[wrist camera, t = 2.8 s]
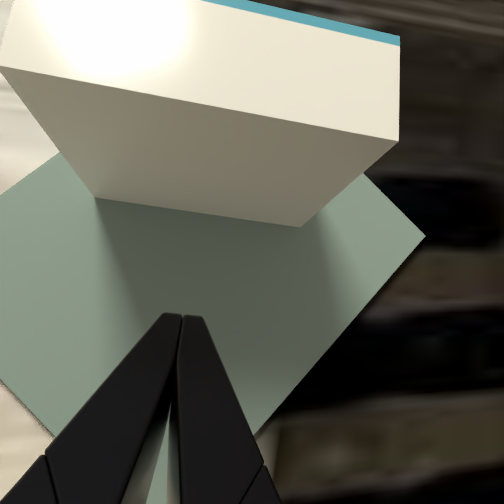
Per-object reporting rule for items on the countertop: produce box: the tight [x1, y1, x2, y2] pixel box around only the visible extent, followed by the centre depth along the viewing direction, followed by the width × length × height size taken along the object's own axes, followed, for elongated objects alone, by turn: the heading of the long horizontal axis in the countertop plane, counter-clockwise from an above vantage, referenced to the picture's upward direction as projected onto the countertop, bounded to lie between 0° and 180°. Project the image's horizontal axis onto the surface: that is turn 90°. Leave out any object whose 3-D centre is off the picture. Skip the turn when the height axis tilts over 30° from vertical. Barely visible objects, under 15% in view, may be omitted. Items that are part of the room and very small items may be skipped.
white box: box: [0, 0, 400, 227], centre depth 12 cm, size 3×9×8 cm, turn 85°
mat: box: [0, 152, 425, 504], centre depth 16 cm, size 14×17×1 cm
